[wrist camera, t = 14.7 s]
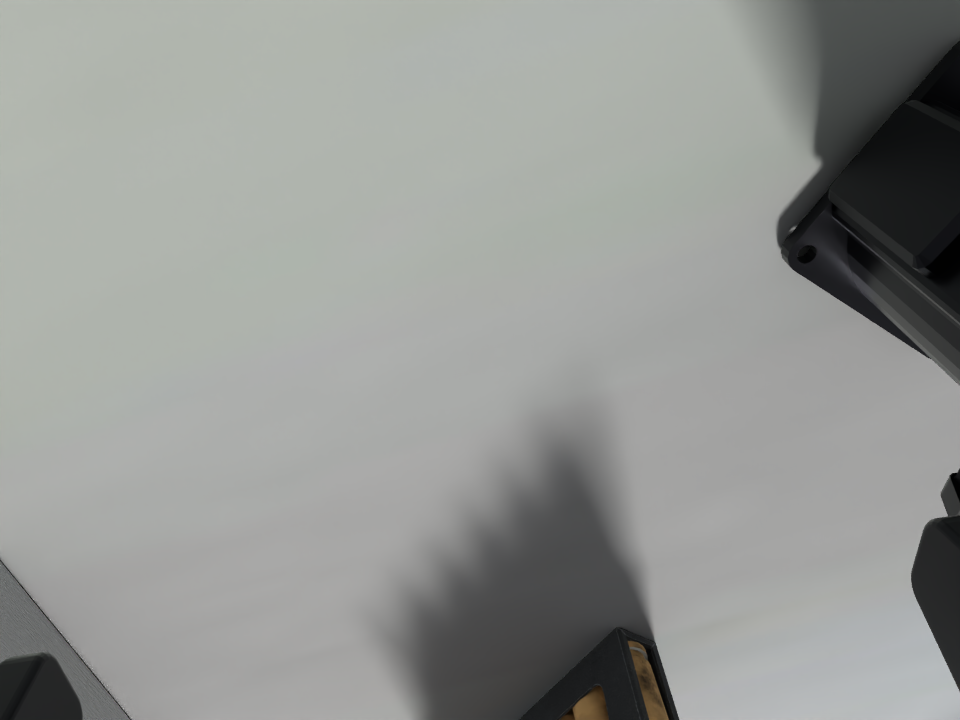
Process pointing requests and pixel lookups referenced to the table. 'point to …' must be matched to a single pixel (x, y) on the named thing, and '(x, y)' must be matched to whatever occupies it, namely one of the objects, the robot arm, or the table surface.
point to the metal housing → (48, 648)
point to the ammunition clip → (611, 685)
